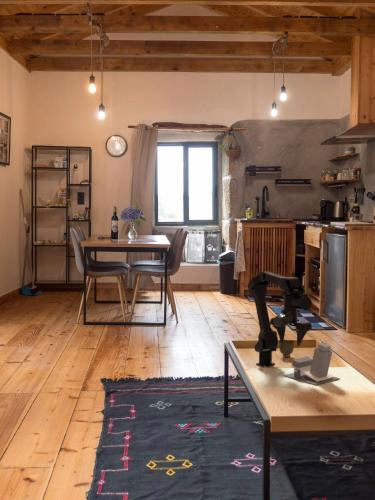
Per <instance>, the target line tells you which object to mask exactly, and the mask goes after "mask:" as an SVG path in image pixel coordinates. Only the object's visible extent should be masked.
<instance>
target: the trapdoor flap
mask: <svg viewBox="0 0 375 500" xmlns="http://www.w3.org/2000/svg"><path fill="white" fill-rule="evenodd" d="M312 359H313V358H310V357H309V356H303V357H299V358H294V359H292V361H291V362H292V363H291V365H290V367H291V368H293V369H295V368H297V369H300V372H301V373H303V374H305V375H307V376H308V377H310V378H312V379H314V380H315V381H317V382H319V381H323V380H326V379H330V378H333V377H334V375H331V374H330V373H328V374H327V376H326V377H322V378H318V377H316V376H314V375H313V374H311V373H310V369H311V364H312Z"/></svg>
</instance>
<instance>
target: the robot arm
mask: <svg viewBox="0 0 375 500" xmlns="http://www.w3.org/2000/svg"><path fill="white" fill-rule="evenodd" d="M270 284H273V285H277V286H278V287H279V289H280V290H281V291H282V292H281V293H280V296H283V308H282V309H281V310H280V313H279V314H277V315H276V316H274V317H271V318H270V316H269V311H268V307H267V301H266V296H267V293H268V287H269V286H270ZM247 289H248V293H249V294H250V296H251V297H252V298H253V300H254V305H255V311H256V315H257V320H258V325H259V326H258V327H259V333H258V336H257V338H258V339H257V340H258V341H257V342H256V344H255V345H254V347H253V348H254V351H255V352H257V353H258V362H257V363H255V365H256V366H262V367H272V366H274V365H276V363H275V362H273V352H276V351H277V349H278V346H279V340H280V341H281V342H283V341H284V339H285V335H286V327H287V326H289V327H295V330H294V332H295V333H296V345H297V347H299V346H300V345H301V344H302V342H303V340H304V338H305V336H306V334H307V333H308V332H309V331H310V330H312V327H313V325H312V323H311V322H308V321H300V319H299V318H298V313H299V312H300V310H302V311H308V310H309V309H311V307H312V305H313V304H312V303H313V302H312V299H311V297H309V295H308V294H309V293H306V292H305V289H304V288H303V285H302V283H301V281H300V279H299V278H298V277H294V276H291V277H289V276H284V275H281V274H277V273H275V272H272V271H269V270H268V271H267V270H266V271H263V270H262V271H260V272H259V273H258V274H257V275H256V276H254V277H252V278H251V280H249V282H248V283H247ZM271 325H272V326H271ZM272 327H273V328H274V329H276V330H273V329H272ZM278 337H279V338H278Z"/></svg>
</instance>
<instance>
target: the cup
mask: <svg viewBox="0 0 375 500" xmlns="http://www.w3.org/2000/svg"><path fill="white" fill-rule="evenodd" d="M278 346H279V351H280V353H281V354H282V357H283V358H284V359H288V357H289V358H290V357H291V354H292V353H293V351H294V346H295V340H293V339H285V338H284V341H283V342H281V341H280V339H278Z"/></svg>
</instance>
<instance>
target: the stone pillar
mask: <svg viewBox="0 0 375 500" xmlns="http://www.w3.org/2000/svg"><path fill="white" fill-rule="evenodd" d="M331 347H332V346H331V345H330V344H328V343H325V342H320V343H318V344H317V347H314V351H313V356H312V358H311V359H312V364H311V369H310V373H311V374H313V375H314V376H316V377H318V378H322V377H326V376H327V374H329V368H330V364H331V361H332V355H333V351H332V350H331Z"/></svg>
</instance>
